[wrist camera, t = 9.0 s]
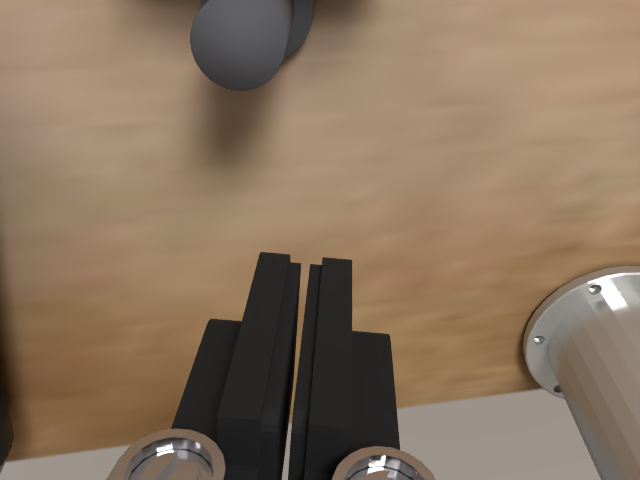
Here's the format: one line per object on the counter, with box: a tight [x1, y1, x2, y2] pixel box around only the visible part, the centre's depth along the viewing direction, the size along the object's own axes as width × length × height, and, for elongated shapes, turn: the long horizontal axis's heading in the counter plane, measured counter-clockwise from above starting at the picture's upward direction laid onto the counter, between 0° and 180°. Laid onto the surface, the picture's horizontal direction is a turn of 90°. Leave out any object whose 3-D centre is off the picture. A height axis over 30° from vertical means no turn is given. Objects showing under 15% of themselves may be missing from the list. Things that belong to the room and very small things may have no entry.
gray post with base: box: [190, 0, 314, 91], centre depth 29 cm, size 6×6×9 cm
